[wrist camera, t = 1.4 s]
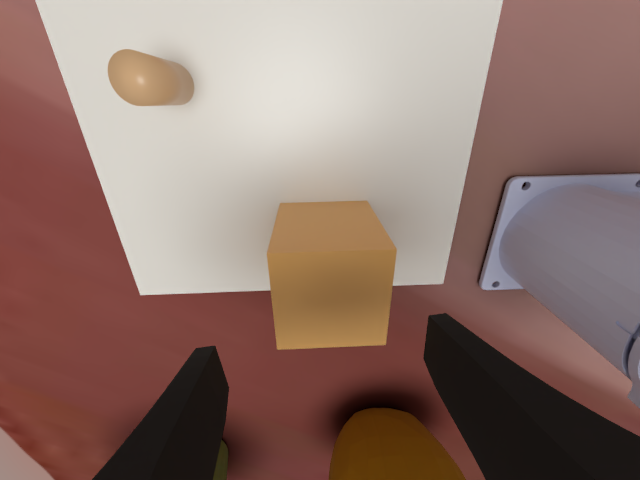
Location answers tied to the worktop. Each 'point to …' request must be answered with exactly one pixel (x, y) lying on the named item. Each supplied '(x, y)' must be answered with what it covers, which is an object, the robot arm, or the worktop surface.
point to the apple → (389, 449)
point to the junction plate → (273, 123)
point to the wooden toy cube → (330, 275)
